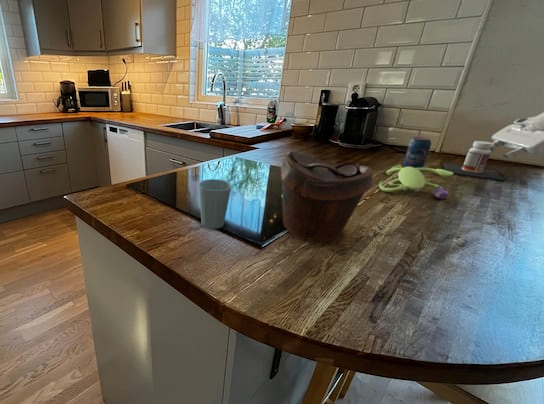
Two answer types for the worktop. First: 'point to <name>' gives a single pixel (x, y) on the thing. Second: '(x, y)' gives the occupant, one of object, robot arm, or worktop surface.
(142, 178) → the worktop surface
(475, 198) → the worktop surface
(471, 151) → the pill bottle
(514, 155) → the robot arm
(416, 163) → the soda can
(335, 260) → the worktop surface
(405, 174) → the green soft sprawling figure
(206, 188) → the cup
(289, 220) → the brown tapered round container
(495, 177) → the mat
